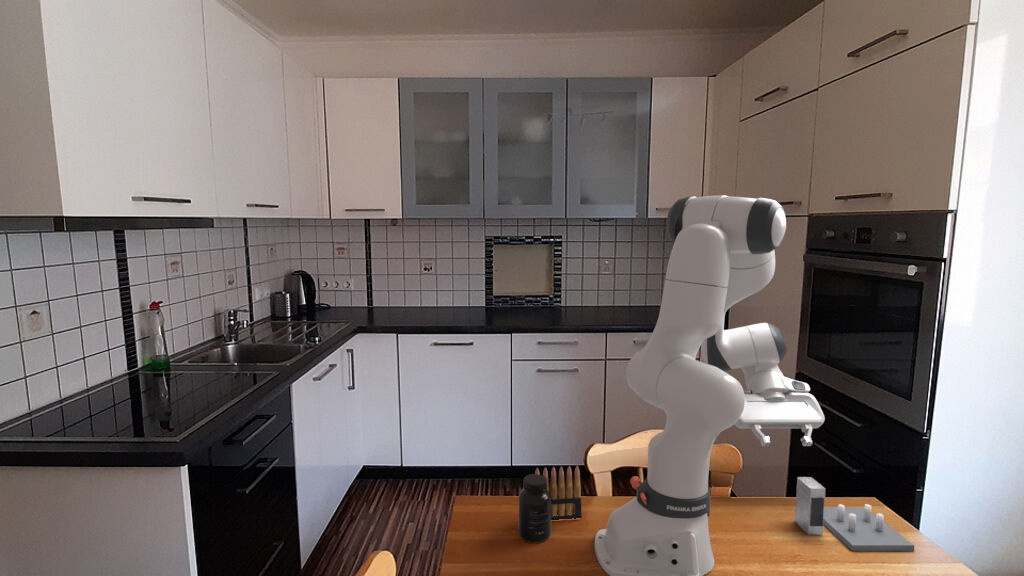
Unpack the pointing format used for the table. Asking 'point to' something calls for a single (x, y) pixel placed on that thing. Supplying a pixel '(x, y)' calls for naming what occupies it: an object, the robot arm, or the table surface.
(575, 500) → the ammunition clip
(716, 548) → the table surface
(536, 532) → the supplement bottle
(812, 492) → the block
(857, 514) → the pin tray
